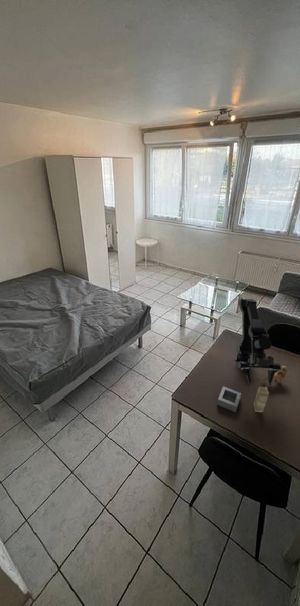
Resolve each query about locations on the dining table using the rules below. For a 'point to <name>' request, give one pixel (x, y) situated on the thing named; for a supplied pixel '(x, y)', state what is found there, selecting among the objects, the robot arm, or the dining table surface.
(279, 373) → the lion figurine
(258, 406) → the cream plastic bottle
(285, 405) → the dining table surface
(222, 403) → the end cap
